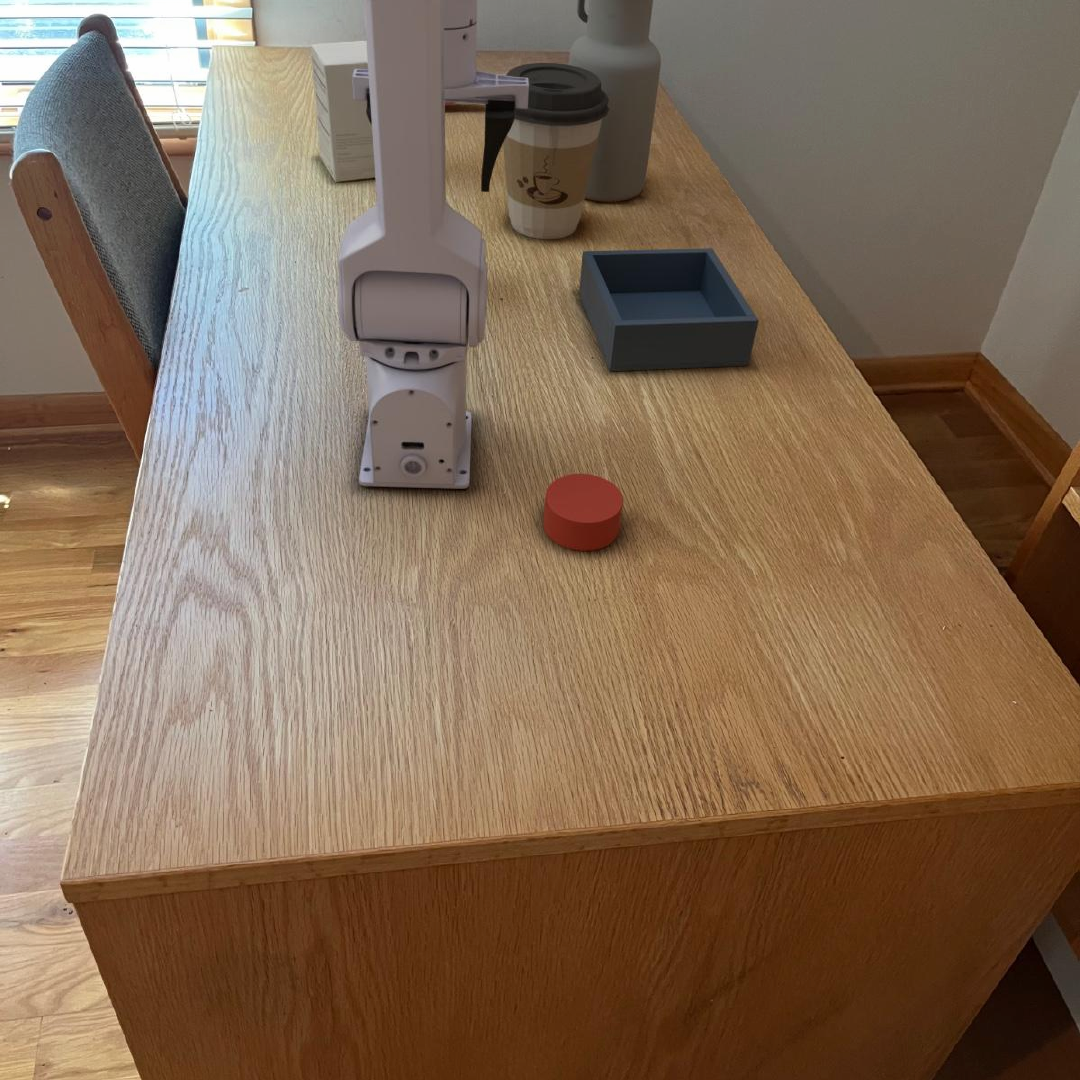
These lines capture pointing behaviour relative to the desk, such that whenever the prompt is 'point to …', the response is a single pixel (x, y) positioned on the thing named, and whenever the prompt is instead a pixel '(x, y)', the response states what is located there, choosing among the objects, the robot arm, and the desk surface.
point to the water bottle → (620, 92)
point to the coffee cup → (552, 148)
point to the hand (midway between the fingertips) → (441, 185)
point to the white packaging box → (342, 111)
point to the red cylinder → (582, 512)
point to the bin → (665, 309)
